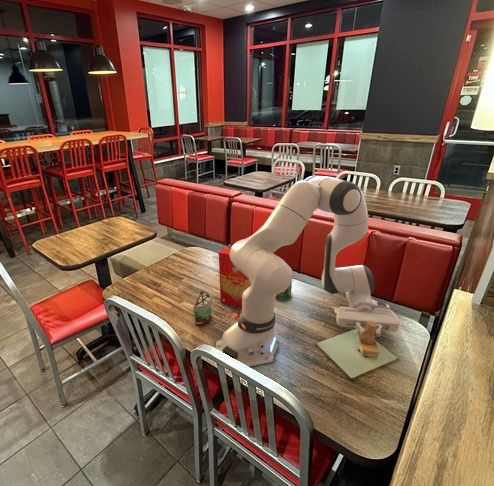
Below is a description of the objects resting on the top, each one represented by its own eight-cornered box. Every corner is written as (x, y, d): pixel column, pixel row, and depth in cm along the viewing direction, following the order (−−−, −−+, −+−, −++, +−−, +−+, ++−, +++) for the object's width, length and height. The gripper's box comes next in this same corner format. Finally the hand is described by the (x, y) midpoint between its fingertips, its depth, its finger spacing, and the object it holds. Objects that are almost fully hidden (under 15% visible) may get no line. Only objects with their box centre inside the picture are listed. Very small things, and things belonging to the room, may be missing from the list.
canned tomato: (289, 291, 144) (291, 270, 139) (292, 301, 137) (293, 280, 132) (272, 291, 144) (273, 270, 140) (273, 301, 137) (274, 279, 133)
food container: (209, 329, 123) (208, 308, 118) (194, 327, 124) (193, 307, 120) (215, 310, 134) (214, 290, 129) (202, 308, 135) (200, 289, 130)
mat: (351, 380, 98) (351, 378, 98) (315, 344, 112) (316, 343, 112) (397, 360, 104) (398, 358, 104) (358, 329, 119) (358, 327, 118)
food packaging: (220, 302, 138) (218, 252, 128) (225, 296, 142) (223, 247, 132) (252, 309, 133) (253, 258, 122) (256, 302, 137) (256, 252, 126)
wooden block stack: (356, 337, 113) (361, 314, 108) (371, 338, 111) (377, 315, 107) (361, 355, 105) (366, 331, 100) (378, 357, 103) (383, 333, 99)
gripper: (334, 299, 118) (339, 323, 105) (393, 305, 113) (406, 330, 101) (332, 313, 120) (336, 337, 108) (390, 318, 116) (401, 345, 104)
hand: (370, 334), depth 104 cm, fingers closed on wooden block stack, 3 cm apart
